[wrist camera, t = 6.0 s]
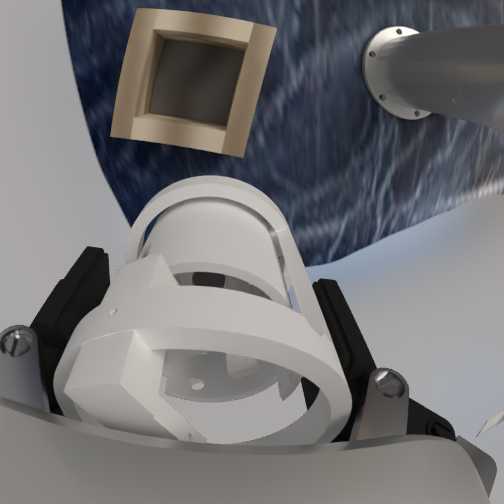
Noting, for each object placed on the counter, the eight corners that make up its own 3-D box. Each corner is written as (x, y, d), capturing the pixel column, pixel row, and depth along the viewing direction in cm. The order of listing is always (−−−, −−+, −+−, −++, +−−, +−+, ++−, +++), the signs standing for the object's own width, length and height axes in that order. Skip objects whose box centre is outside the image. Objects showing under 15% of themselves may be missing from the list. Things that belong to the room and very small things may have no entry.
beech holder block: (266, 40, 28) (276, 28, 22) (239, 145, 34) (243, 157, 28) (154, 23, 26) (137, 8, 20) (131, 127, 32) (110, 136, 26)
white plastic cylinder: (251, 131, 16) (345, 325, 3) (289, 237, 20) (370, 478, 6) (138, 178, 17) (-18, 399, 4) (187, 273, 20) (156, 509, 7)
